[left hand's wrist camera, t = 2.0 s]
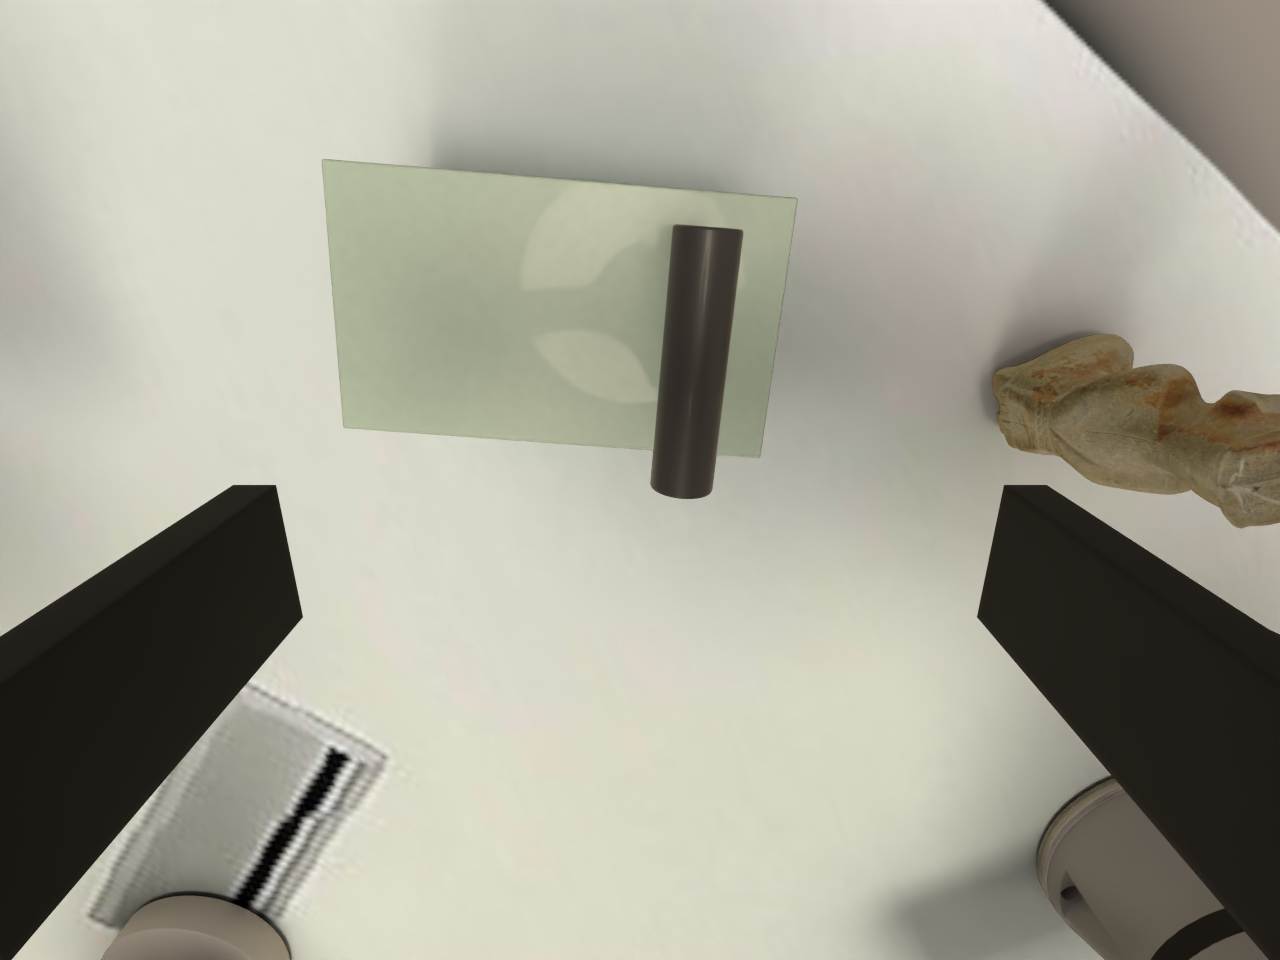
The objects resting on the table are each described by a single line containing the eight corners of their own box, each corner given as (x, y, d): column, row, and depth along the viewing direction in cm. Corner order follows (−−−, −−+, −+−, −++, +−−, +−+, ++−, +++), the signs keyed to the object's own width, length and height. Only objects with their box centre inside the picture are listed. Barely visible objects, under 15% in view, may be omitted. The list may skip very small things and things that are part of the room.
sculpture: (1112, 417, 38) (1392, 532, 24) (981, 450, 38) (1177, 581, 24) (1109, 313, 36) (1412, 372, 22) (970, 350, 36) (1177, 431, 22)
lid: (790, 199, 24) (869, 187, 16) (755, 449, 27) (804, 545, 19) (335, 161, 23) (173, 129, 15) (355, 419, 26) (229, 506, 18)
